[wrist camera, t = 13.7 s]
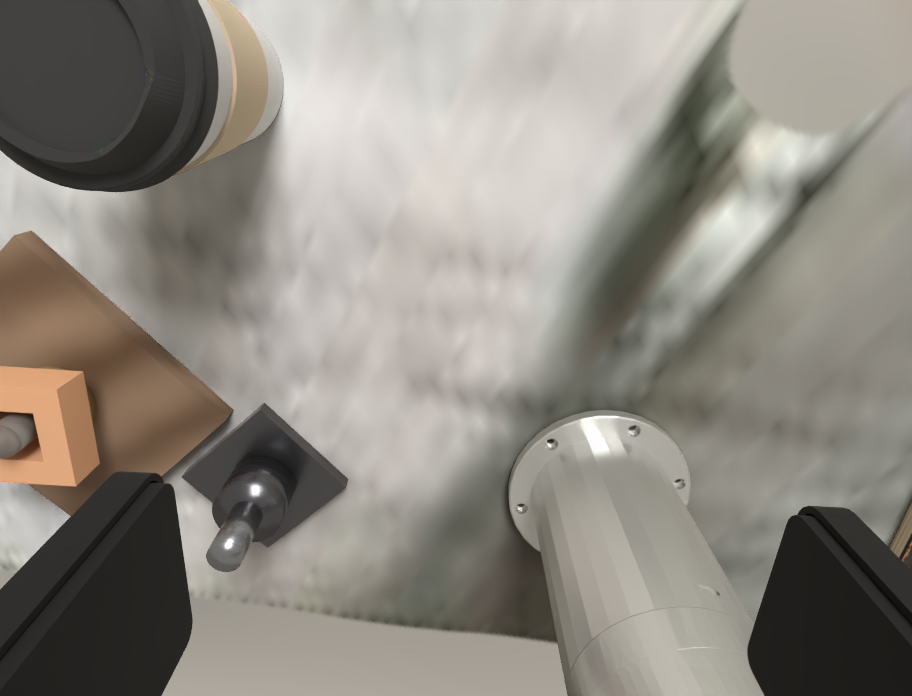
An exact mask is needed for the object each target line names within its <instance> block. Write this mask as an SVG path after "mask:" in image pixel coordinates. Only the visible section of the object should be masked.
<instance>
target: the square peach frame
mask: <svg viewBox="0 0 912 696" xmlns="http://www.w3.org/2000/svg"><path fill="white" fill-rule="evenodd" d="M11 412H19V413H33V416H34V420H35V425H36V429H37V434H38V438H36V439H35V440H33V441H32V442H31V443H29V444H28V445H27V446H26V447H24V448H23V449H22V450H20V451H19V452H18V453H16V454H15V455H13V456H11V457H7V458H0V482H9V483H25V484H42V485H59V486H77V485H78V484H79V483H80V482H81V481H82V480H83V479H84V478H85V477H86V476H87V475H88V474H89V473H90V472H91V471H92V470H93V469H95V468H96V467H97V466H98V465H99V464H100V461H99V456H98V450H97V445H96V439H95V434H94V428H93V423H92V417H91V412H90V406H89V401H88V395H87V390H86V384H85V378H84V373H83V371H70V370H54V369H38V368H23V367H7V366H0V420H1V419H2V418H4V417H5V416H7V415H8V414H10V413H11Z"/></svg>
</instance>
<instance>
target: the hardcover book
mask: <svg viewBox="0 0 912 696" xmlns="http://www.w3.org/2000/svg"><path fill="white" fill-rule="evenodd" d="M890 549H891V550H892V551H893V552H894V553H895V554H896V555H897V556H898V557H899V558H900V559H901V560H902V561H903V562H904V563H905V564H906V565H907V566H908V567H909V568H910V569H911V570H912V503H911V505H910V507H909V509H908V511H907V513H906V515H905V517H904V519H903V521H902V524H901V526H900V528H899V530H898V532H897V534H896V536H895V538H894V540H893V542H892V544H891V546H890Z"/></svg>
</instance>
